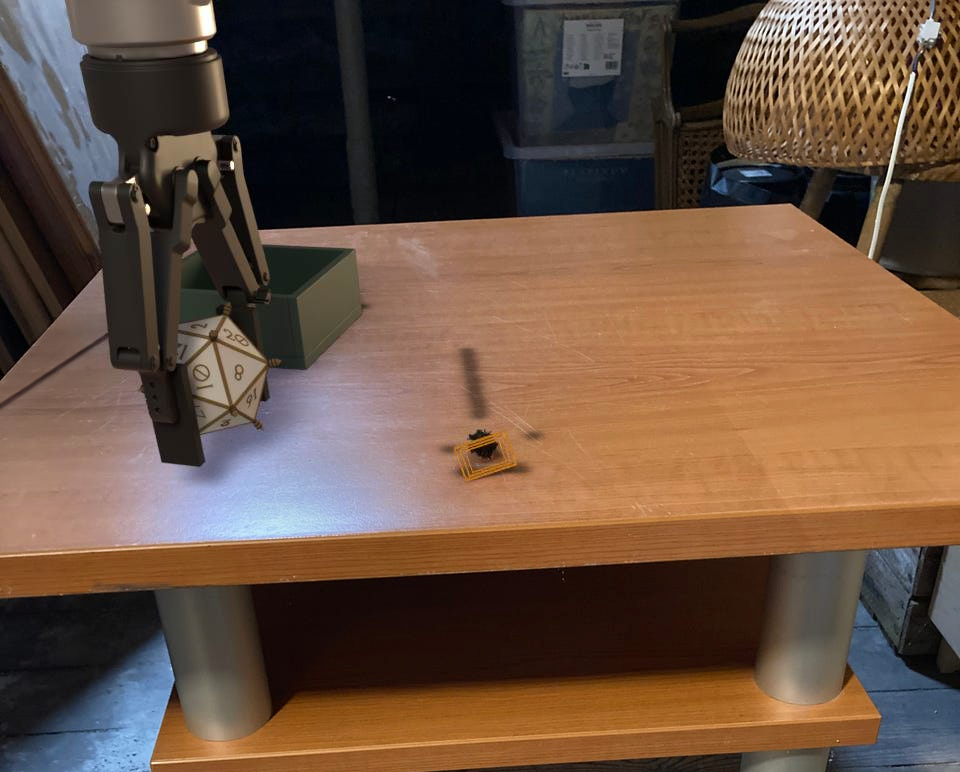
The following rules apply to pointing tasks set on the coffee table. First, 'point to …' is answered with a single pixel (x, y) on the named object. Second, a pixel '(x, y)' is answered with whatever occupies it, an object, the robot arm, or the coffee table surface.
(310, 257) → the bin
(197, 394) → the game die
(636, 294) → the coffee table surface
